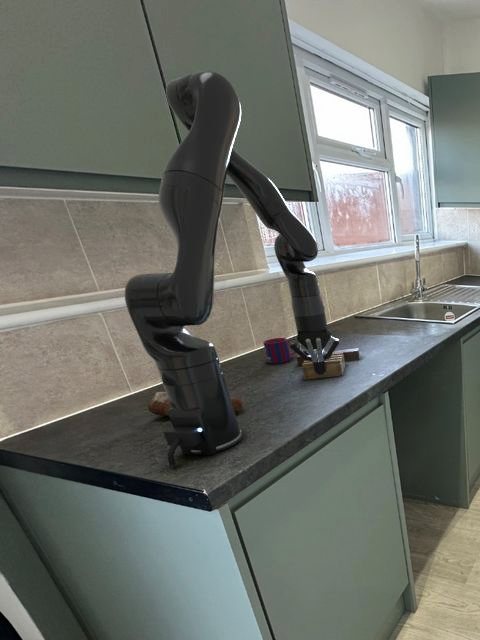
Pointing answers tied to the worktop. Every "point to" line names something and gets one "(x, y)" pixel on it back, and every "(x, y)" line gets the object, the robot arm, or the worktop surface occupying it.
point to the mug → (278, 350)
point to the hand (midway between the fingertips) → (321, 373)
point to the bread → (162, 404)
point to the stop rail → (348, 354)
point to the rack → (333, 367)
